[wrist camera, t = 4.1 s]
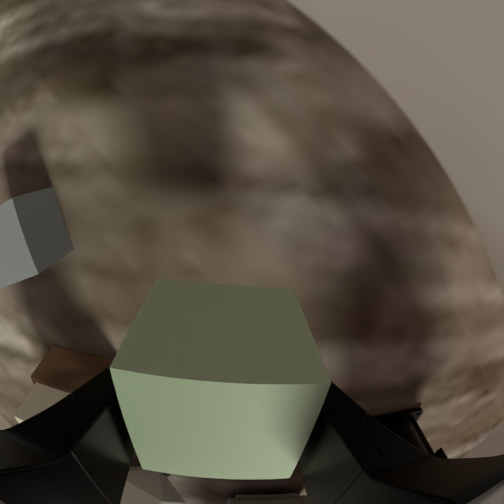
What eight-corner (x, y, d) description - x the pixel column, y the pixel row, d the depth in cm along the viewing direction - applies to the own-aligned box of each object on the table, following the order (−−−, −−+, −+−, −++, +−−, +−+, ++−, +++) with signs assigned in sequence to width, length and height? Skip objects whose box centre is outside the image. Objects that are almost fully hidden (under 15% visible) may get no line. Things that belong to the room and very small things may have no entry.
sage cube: (293, 289, 10) (331, 383, 5) (274, 385, 11) (289, 478, 7) (158, 278, 9) (109, 367, 5) (164, 378, 11) (142, 468, 6)
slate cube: (53, 186, 14) (12, 197, 10) (74, 248, 15) (38, 274, 11) (14, 209, 14) (-26, 224, 10) (33, 264, 15) (-2, 289, 11)
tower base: (123, 359, 18) (105, 398, 14) (135, 412, 20) (124, 449, 16) (54, 344, 17) (30, 376, 13) (73, 397, 19) (56, 429, 15)
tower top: (97, 400, 14) (79, 442, 11) (114, 443, 16) (103, 480, 12) (36, 382, 14) (14, 415, 10) (58, 426, 15) (43, 458, 12)
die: (106, 437, 22) (69, 502, 15) (174, 482, 18) (131, 555, 12) (148, 455, 27) (116, 510, 21) (209, 488, 23) (174, 549, 17)
